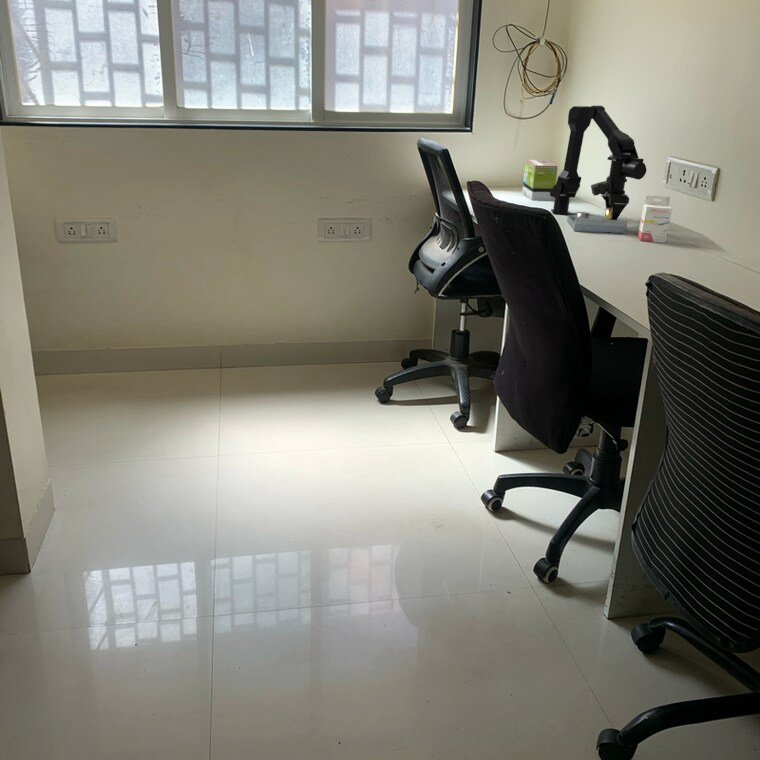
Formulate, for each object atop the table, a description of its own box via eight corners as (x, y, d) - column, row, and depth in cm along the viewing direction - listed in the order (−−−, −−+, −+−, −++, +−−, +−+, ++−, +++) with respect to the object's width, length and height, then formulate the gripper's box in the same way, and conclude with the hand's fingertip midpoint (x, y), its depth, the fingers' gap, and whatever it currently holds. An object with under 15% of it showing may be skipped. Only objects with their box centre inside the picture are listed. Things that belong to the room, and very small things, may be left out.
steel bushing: (574, 225, 283) (576, 211, 281) (586, 225, 283) (588, 212, 281) (576, 227, 279) (578, 214, 277) (588, 228, 279) (590, 214, 277)
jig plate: (566, 221, 289) (568, 209, 287) (615, 224, 288) (617, 211, 286) (574, 231, 274) (575, 218, 272) (625, 233, 273) (627, 221, 272)
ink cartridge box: (640, 241, 264) (648, 197, 258) (637, 237, 268) (644, 194, 263) (666, 242, 263) (674, 198, 257) (662, 239, 268) (670, 196, 262)
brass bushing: (614, 227, 283) (617, 207, 280) (616, 230, 279) (619, 210, 276) (601, 226, 283) (604, 207, 280) (604, 229, 279) (607, 209, 276)
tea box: (521, 194, 339) (525, 159, 333) (543, 194, 340) (547, 159, 335) (530, 200, 326) (535, 164, 320) (554, 201, 327) (558, 165, 321)
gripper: (589, 169, 282) (583, 212, 289) (599, 177, 265) (593, 223, 271) (620, 171, 282) (613, 214, 288) (633, 179, 265) (625, 225, 271)
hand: (610, 219), depth 280 cm, fingers open, 9 cm apart
